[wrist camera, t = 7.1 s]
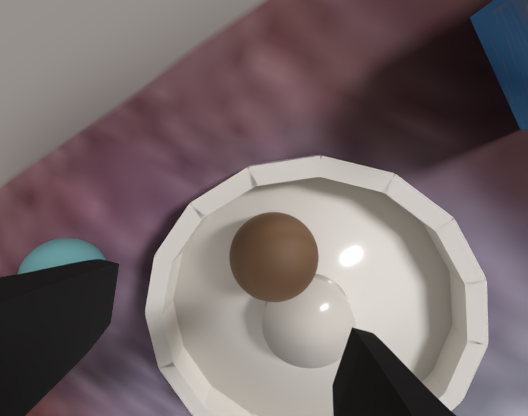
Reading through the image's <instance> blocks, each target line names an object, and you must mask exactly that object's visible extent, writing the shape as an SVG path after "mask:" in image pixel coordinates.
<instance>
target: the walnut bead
mask: <svg viewBox="0 0 528 416" xmlns="http://www.w3.org/2000/svg"><path fill="white" fill-rule="evenodd" d="M229 260H230V267H231V271H232V273H233V276H234V278H235V280H236V281H237V283H238V284H239V286H240V287H241V288H242V289H243V290H244V291H245V292H247V293H248V294H249V295H251V296H252V297H254V298H256V299H259V300H262V301H266V302H283V301H287V300H290V299H292V298H294V297H296V296H298V295H299V294H301V293H302V292H303V291H304V290H305V289H306V288H307V287H308V286H309V285H310V283H311V282H312V280H313V278H314V276H315V274H316V271H317V267H318V260H319V255H318V248H317V244H316V241H315V239H314V236H313V235H312V233H311V231H310V230H309V229H308V228H307V226H306V225H305V224H303V223H302V222H301V221H300V220H298V219H297V218H295V217H293V216H291V215H289V214H285V213H280V212H267V213H262V214H259V215H257V216H254V217H253V218H251V219H249V220H248V221H247V222H245V223H244V224H243V225H242V226H241V227H240V228H239V230H238V231H237V233H236V234H235V236H234V238H233V240H232V243H231V247H230V254H229Z"/></svg>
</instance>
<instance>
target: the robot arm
mask: <svg viewBox="0 0 528 416" xmlns="http://www.w3.org/2000/svg"><path fill="white" fill-rule="evenodd" d="M118 268H119V264H117V263H113V262H110V261H106V260H102V259H94V260H87V261H81V262H75V263H70V264H65V265H61V266H56V267H51V268H46V269H41V270H37V271H32V272H27V273H22V274H17V275H11V276H6V277H0V416H25V415H26V414H27V413H28V412H29V411H30V410H31V409H32V408H33V407H34V406H35V405H36V404H37V403H38V402H39V401H40V400H41V399H42V398H43V397H44V396H45V395H46V394H47V393H48V392H49V391H50V390H51V389H52V388H53V387H54V386H55V385H56V384H57V383H58V382H59V381H60V380H61V379H62V378H63V377H64V376H65V375H66V374H67V373H68V372H69V371H70V370H71V369H72V368H73V367H74V366H75V365H76V364H77V363H78V362H79V361H80V360H81V359H82V358H83V357H84V356H85V355H86V354H87V352H88V351H89V350H90V349H91V348H92V346H93V345H94V344H95V343H96V341H97V340H98V339H99V338H100V336H101V335H102V334H103V332H104V331H105V330H106V328H107V327H108V326H109V324H110V323H111V316H112V310H113V303H114V296H115V289H116V282H117V275H118ZM332 392H333V415H334V416H456V415H455V414H454V413H452V412H451V411H450V410H449V409H448V408H447V407H446V406H445V405H444V404H443V403H442V402H441V401H440V400H439V399H438V398H437V397H436V396H435V395H434V394H433V393H432V392H431V391H430V390H429V389H428V388H427V387H426V386H425V385H424V384H423V383H422V382H421V381H420V380H419V379H418V378H417V377H416V376H415V375H414V374H413V373H412V372H411V371H410V370H409V369H408V368H407V367H406V366H405V364H404V363H403V362H402V361H401V360H400V359H399V358H398V357H397V356H396V355H395V354H394V353H393V352H392V351H391V350H390V349H389V348H388V347H387V346H386V345H385V344H384V343H383V342H382V341H381V340H380V339H379V338H378V337H377V336H376V335H375V334H373V333H371V332H368V331H364V330H360V329H357V328H353V327H352V329H351V332H350V335H349V338H348V341H347V344H346V346H345V349H344V352H343V355H342V358H341V361H340V364H339V367H338V370H337V373H336V376H335V379H334V382H333V385H332Z"/></svg>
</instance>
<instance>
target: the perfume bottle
mask: <svg viewBox="0 0 528 416" xmlns="http://www.w3.org/2000/svg"><path fill="white" fill-rule="evenodd" d="M470 20H471V22H472V24H473V26H474V29H475V31H476V33H477V35H478V37H479V40H480V42H481V44H482V46H483V48H484V51H485V53H486V55H487V57H488V59H489V62H490V64H491V66H492V68H493V70H494V73H495V75H496V77H497V79H498V81H499V84H500V86H501V88H502V90H503V93H504V95H505V97H506V99H507V101H508V104H509V106H510V108H511V110H512V112H513V115H514V117H515V119H516V121H517V123H518V126H519V128H520V130H521V129H528V0H493V1H492V2H490V3H489V4H488V5H486V6H485V7H483V8H482V9H481V10H479V11H478V12H477V13H475V14H474V15H472V16H471V17H470Z"/></svg>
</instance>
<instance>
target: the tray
mask: <svg viewBox="0 0 528 416" xmlns="http://www.w3.org/2000/svg"><path fill="white" fill-rule="evenodd" d="M267 212H280V213H285V214H289V215H291V216H293V217H295V218H297V219H298V220H300V221H301V222H302V223H303V224H305V225H306V226H307V228H308V229H309V230H310V231H311V233H312V235H313V236H314V239H315V241H316V244H317V248H318V255H319V260H318V267H317V271H316V274H315V276H314V278H313V280H312V282H311V283H310V285H309V286H308V287H307V288H306V289H305V290H304V291H303V292H302V293H301V294H299V295H298V296H296V297H294V298H292V299H290V300H287V301H283V302H266V301H262V300H259V299H256V298H254V297H252V296H251V295H249V294H248V293H247V292H245V291H244V290H243V289H242V288H241V287H240V286H239V284H238V283H237V281H236V280H235V278H234V276H233V273H232V271H231V267H230V260H229V254H230V247H231V243H232V240H233V238H234V236H235V234H236V233H237V231H238V230H239V228H240V227H241V226H242V225H243V224H244V223H245V222H247V221H248V220H249V219H251V218H253V217H254V216H257V215H259V214H262V213H267ZM145 316H146V320H147V324H148V328H149V332H150V336H151V340H152V344H153V348H154V352H155V356H156V360H157V364H158V368H159V370H160V371H161V373H162V374H163V375H164V377H165V378H166V379H167V381H168V382H169V384H170V385H171V386H172V388H173V389H174V391H175V392H176V393H177V395H178V396H179V398H180V399H181V400H182V402H183V403H184V404H185V406H186V407H187V409H188V410H189V411H190V413H191V414H193V416H334V415H333V392H332V385H333V382H334V379H335V376H336V373H337V370H338V367H339V364H340V361H341V358H342V355H343V352H344V349H345V346H346V344H347V341H348V338H349V335H350V332H351V329H352V327H353V328H357V329H360V330H364V331H368V332H371V333H373V334H375V335H376V336H377V337H378V338H379V339H380V340H381V341H382V342H383V343H384V344H385V345H386V346H387V347H388V348H389V349H390V350H391V351H392V352H393V353H394V354H395V355H396V356H397V357H398V358H399V359H400V360H401V361H402V362H403V363H404V364H405V366H406V367H407V368H408V369H409V370H410V371H411V372H412V373H413V374H414V375H415V376H416V377H417V378H418V379H419V380H420V381H421V382H422V383H423V384H424V385H425V386H426V387H427V388H428V389H429V390H430V391H431V392H432V393H433V394H434V395H435V396H436V397H437V398H438V399H439V400H440V401H441V402H442V403H443V404H444V405H445V406H446V407H447V408H448V409H449V410H450V411H452V410H453V409H454V408H455V407H456V406H457V405H458V404H460V403H461V402H462V401H461V400H463V399H464V396H465V394H466V392H467V390H468V388H469V386H470V383H471V381H472V379H473V377H474V375H475V372H476V370H477V368H478V366H479V364H480V362H481V359H482V357H483V355H484V353H485V351H486V348H487V346H488V308H487V280H486V277H485V275H484V273H483V271H482V270H481V268H480V266H479V264H478V262H477V260H476V258H475V256H474V254H473V253H472V251H471V249H470V247H469V245H468V243H467V241H466V239H465V238H464V236H463V234H462V232H461V230H460V228H459V226H458V224H457V222H456V221H455V219H454V218H453V217H452V216H451V215H449V214H448V213H447V212H445V211H444V210H443V209H441V208H440V207H439V206H437V205H436V204H435V203H433V202H432V201H431V200H430V199H428V198H427V197H426V196H424V195H423V194H422V193H420V192H419V191H418V190H416V189H415V188H414V187H412V186H411V185H410V184H408V183H407V182H406V181H404V180H403V179H402V178H400V177H399V176H398V175H396V174H394V173H391V172H388V171H384V170H380V169H376V168H372V167H368V166H364V165H360V164H356V163H352V162H348V161H343V160H339V159H335V158H331V157H327V156H323V155H312V156H305V157H299V158H291V159H283V160H279V161H273V162H267V163H260V164H254V165H251V166H249V167H247V168H245V169H244V170H242V171H240V172H239V173H237V174H236V175H234V176H232V177H231V178H229V179H228V180H226V181H224V182H223V183H221V184H220V185H218V186H216V187H215V188H213V189H211V190H210V191H208V192H207V193H205V194H203V195H202V196H200V197H199V198H197V199H195V200H194V201H192V202H191V203H190V204H189V205H188V206H187V208H186V209H185V211H184V212H183V214H182V215H181V217H180V218H179V219H178V221H177V222H176V224H175V225H174V227H173V228H172V230H171V231H170V233H169V234H168V236H167V237H166V239H165V240H164V242H163V243H162V245H161V246H160V248H159V249H158V251H157V252H156V253H155V256H154V260H153V266H152V272H151V278H150V284H149V290H148V296H147V302H146V308H145Z"/></svg>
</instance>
